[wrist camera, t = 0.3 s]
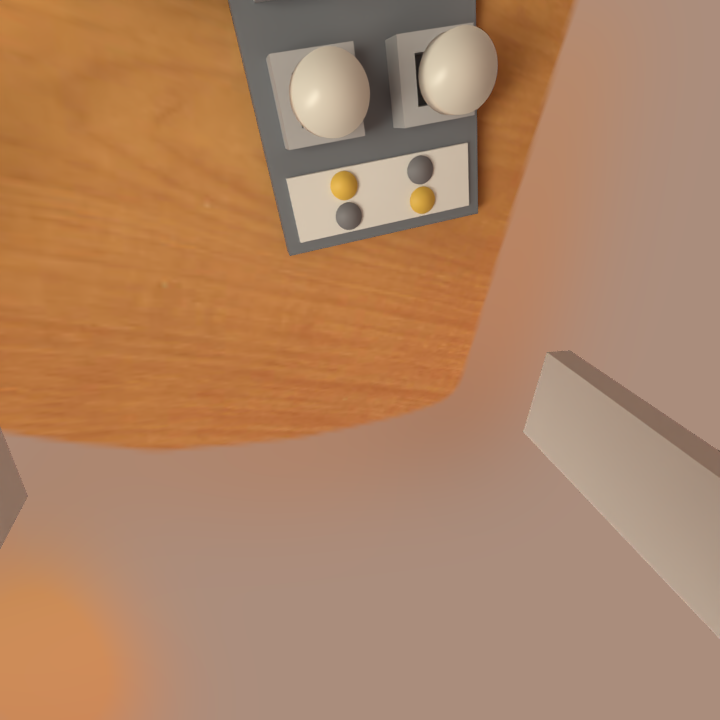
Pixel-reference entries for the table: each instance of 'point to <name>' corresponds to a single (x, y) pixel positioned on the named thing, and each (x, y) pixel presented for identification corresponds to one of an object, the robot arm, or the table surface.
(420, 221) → the board
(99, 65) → the table surface
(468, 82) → the button
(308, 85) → the button
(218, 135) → the table surface
